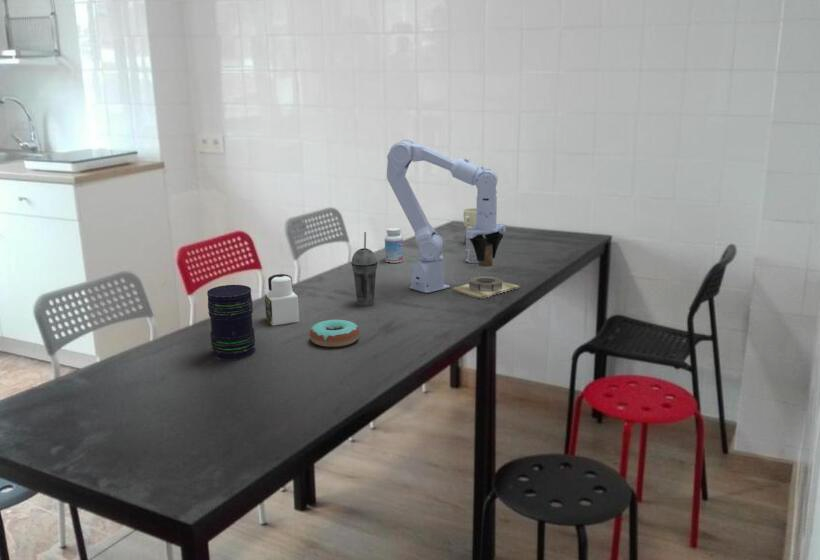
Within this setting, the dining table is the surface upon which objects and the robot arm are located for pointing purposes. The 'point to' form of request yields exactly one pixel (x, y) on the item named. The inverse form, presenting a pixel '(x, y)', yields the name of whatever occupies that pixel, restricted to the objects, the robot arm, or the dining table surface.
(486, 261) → the walnut peg
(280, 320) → the white handled container
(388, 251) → the pill bottle
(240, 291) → the storage jar
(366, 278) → the beverage cup
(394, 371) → the dining table surface
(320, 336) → the donut
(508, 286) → the socket board
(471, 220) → the character mug
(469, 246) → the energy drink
